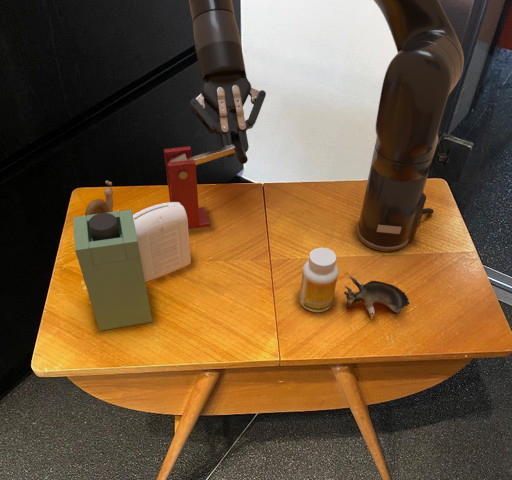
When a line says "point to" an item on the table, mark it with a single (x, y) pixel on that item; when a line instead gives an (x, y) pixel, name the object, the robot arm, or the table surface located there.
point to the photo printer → (162, 239)
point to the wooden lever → (218, 152)
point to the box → (113, 273)
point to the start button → (104, 227)
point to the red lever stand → (185, 186)
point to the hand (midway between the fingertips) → (237, 155)
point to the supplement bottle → (319, 280)
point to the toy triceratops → (377, 295)
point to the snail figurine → (101, 203)
